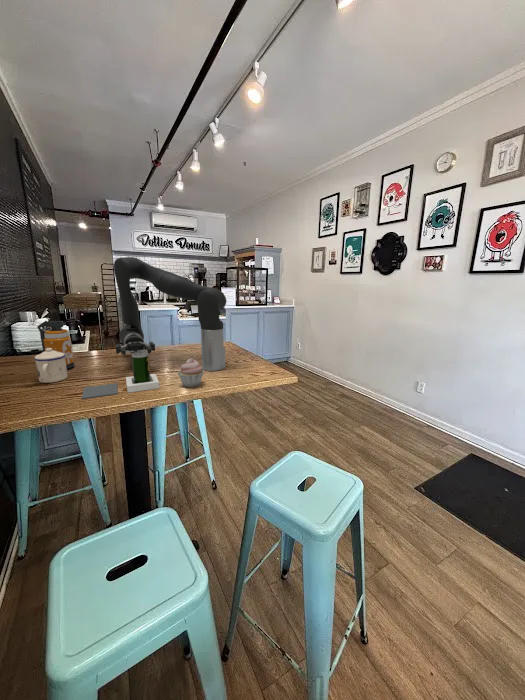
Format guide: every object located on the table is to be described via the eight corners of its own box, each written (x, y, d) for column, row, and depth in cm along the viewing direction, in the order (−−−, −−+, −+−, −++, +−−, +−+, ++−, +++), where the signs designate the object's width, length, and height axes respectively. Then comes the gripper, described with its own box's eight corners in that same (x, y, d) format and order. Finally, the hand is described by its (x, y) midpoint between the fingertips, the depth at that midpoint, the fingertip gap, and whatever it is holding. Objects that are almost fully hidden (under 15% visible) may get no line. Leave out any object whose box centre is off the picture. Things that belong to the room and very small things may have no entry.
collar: (155, 379, 107) (155, 373, 106) (159, 388, 98) (159, 382, 98) (126, 383, 102) (125, 377, 102) (127, 392, 94) (127, 386, 93)
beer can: (135, 389, 97) (132, 355, 94) (133, 384, 101) (129, 352, 98) (152, 386, 100) (149, 353, 97) (148, 381, 104) (146, 350, 101)
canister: (65, 371, 113) (57, 322, 108) (37, 371, 113) (28, 321, 108) (79, 365, 122) (73, 319, 117) (54, 364, 122) (46, 318, 117)
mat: (117, 384, 101) (117, 383, 101) (117, 394, 92) (117, 393, 92) (84, 388, 97) (84, 387, 96) (81, 399, 88) (81, 398, 88)
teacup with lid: (43, 376, 108) (38, 346, 105) (71, 374, 111) (67, 345, 108) (30, 387, 97) (24, 354, 94) (62, 384, 100) (56, 352, 97)
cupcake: (191, 391, 96) (190, 363, 94) (172, 385, 101) (171, 358, 99) (210, 383, 104) (209, 357, 101) (192, 378, 109) (191, 353, 106)
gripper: (114, 335, 117) (115, 343, 104) (151, 333, 124) (156, 340, 110) (116, 352, 119) (116, 363, 105) (152, 350, 126) (157, 359, 112)
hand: (137, 351), depth 108 cm, fingers open, 8 cm apart
